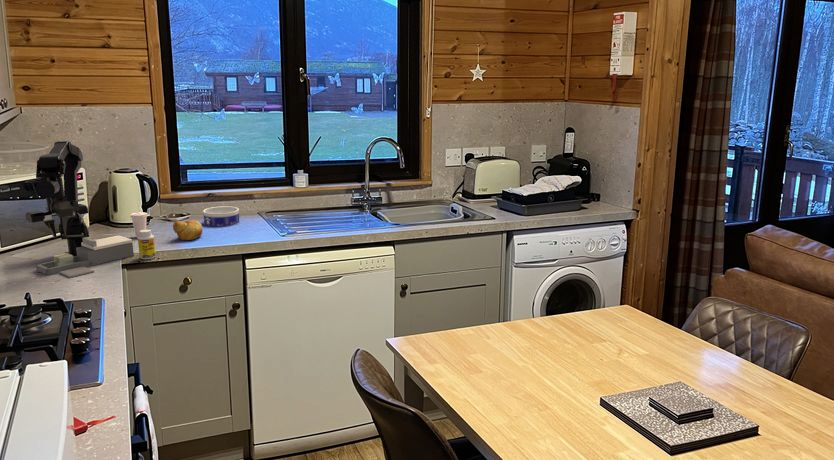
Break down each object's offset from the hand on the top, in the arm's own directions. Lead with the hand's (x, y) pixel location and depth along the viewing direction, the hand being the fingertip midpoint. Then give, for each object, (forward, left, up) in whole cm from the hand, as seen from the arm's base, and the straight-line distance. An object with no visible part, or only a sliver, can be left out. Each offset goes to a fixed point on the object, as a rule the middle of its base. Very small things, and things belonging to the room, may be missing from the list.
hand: (60, 237), depth 236 cm
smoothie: (-20, +39, -11) cm, 45 cm away
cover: (0, +16, -6) cm, 17 cm away
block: (0, 0, -11) cm, 11 cm away
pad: (+9, 0, -11) cm, 15 cm away
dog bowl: (-16, +75, -11) cm, 78 cm away
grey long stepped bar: (0, +8, -11) cm, 13 cm away
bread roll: (-3, +52, -11) cm, 53 cm away
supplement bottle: (+11, +25, -11) cm, 29 cm away
